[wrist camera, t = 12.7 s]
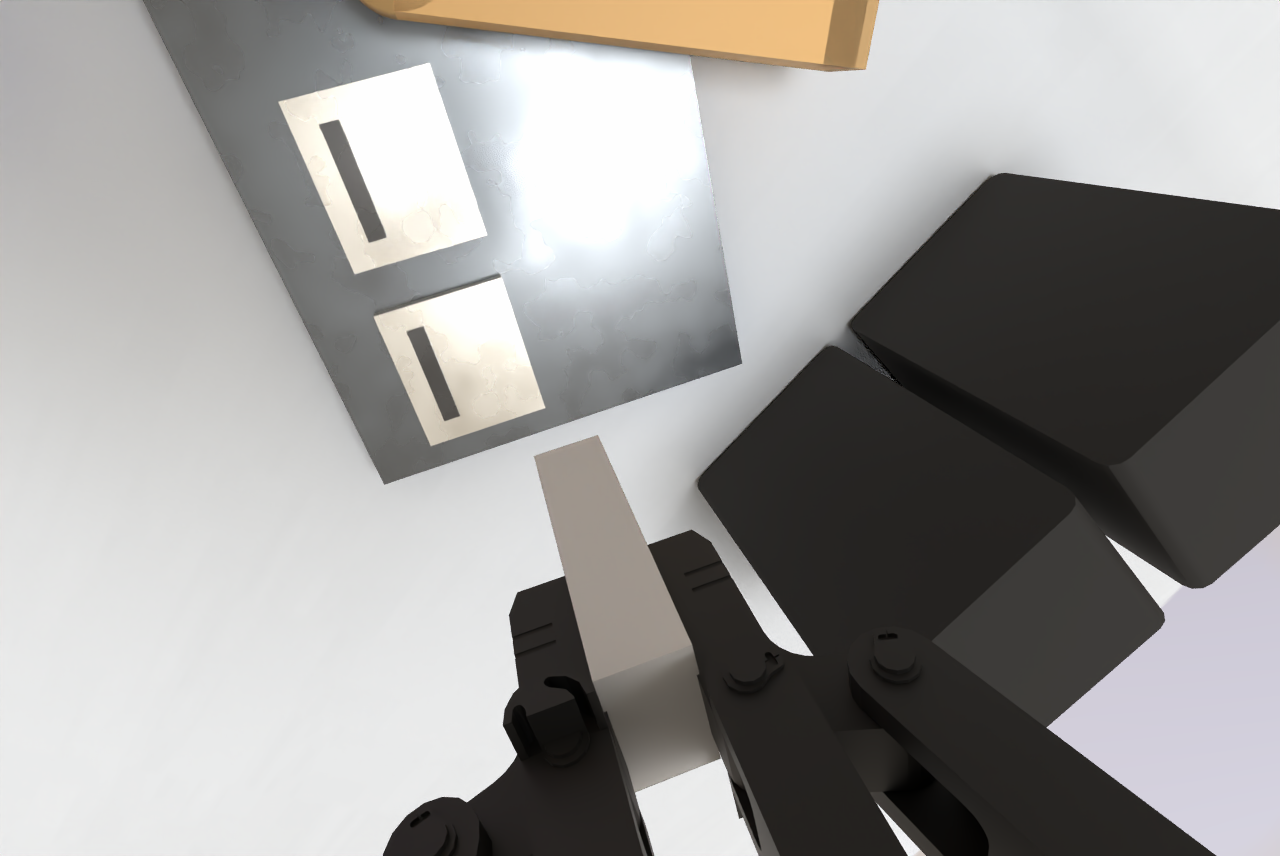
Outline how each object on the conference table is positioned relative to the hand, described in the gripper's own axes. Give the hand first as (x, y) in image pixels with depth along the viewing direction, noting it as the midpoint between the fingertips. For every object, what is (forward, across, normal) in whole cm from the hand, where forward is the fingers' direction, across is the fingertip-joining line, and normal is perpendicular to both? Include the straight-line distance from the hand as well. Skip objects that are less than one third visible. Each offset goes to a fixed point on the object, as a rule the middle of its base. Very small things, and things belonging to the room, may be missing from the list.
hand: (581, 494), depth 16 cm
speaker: (+22, +21, -14) cm, 33 cm away
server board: (+21, +1, +4) cm, 22 cm away
